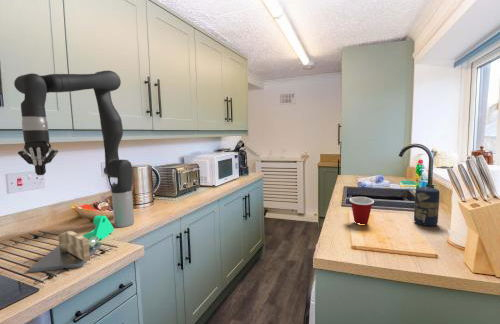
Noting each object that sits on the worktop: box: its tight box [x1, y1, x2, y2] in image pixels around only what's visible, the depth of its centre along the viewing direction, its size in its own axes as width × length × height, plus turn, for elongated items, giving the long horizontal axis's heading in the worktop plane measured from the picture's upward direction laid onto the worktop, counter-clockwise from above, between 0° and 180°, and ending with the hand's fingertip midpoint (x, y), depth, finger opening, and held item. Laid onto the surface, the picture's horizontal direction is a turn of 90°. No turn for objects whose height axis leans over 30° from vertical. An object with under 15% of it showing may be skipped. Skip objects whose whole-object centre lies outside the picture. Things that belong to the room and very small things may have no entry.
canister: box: [413, 186, 440, 227], centre depth 125 cm, size 10×10×18 cm
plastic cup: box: [349, 196, 375, 225], centre depth 128 cm, size 11×11×12 cm
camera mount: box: [82, 215, 115, 241], centre depth 119 cm, size 12×8×10 cm, turn 172°
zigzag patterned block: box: [57, 230, 91, 262], centre depth 98 cm, size 20×5×8 cm, turn 54°
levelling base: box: [28, 236, 102, 273], centre depth 100 cm, size 18×16×4 cm
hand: (40, 174), depth 101 cm, fingers closed
